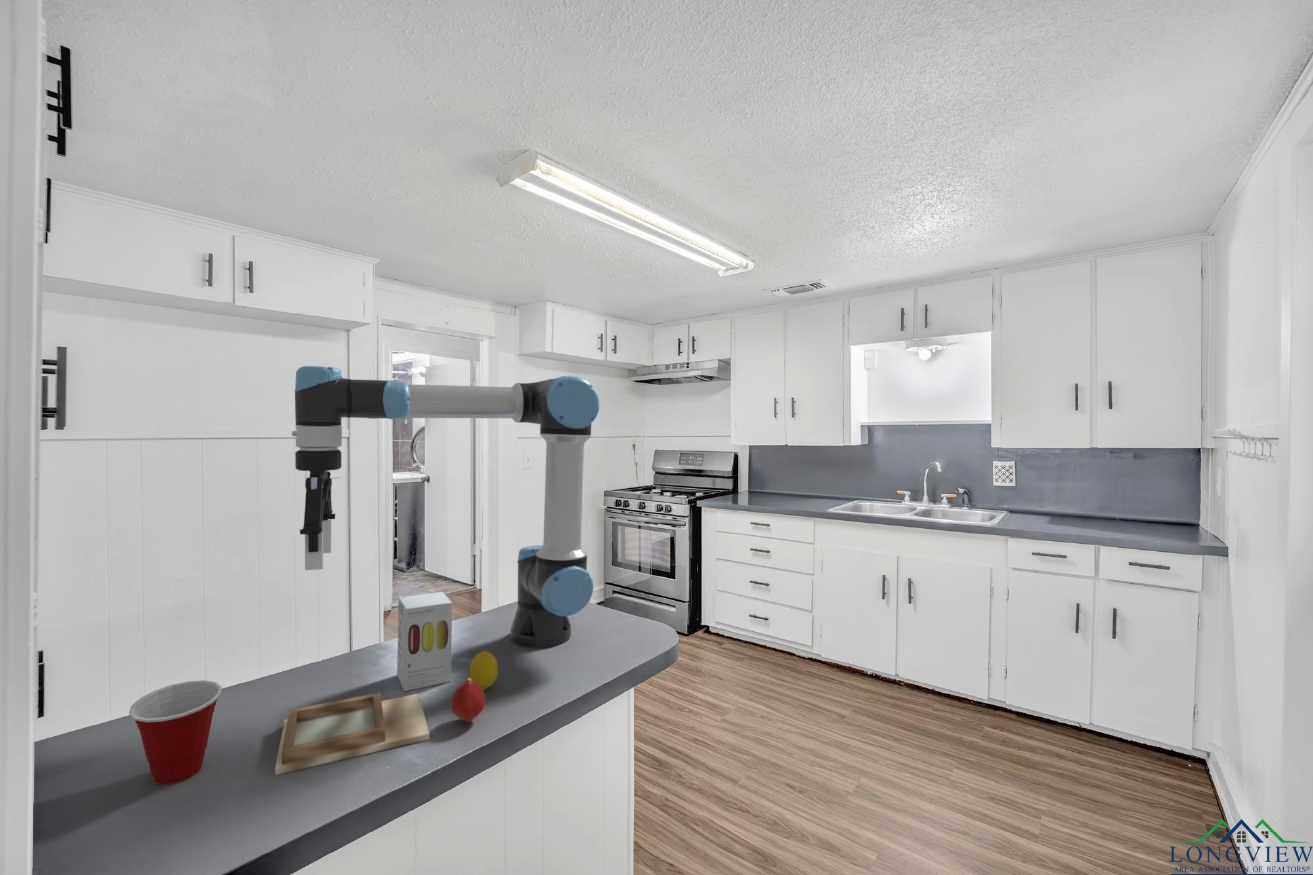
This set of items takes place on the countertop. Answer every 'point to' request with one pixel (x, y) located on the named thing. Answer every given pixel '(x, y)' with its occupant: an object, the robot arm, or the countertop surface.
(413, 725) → the board
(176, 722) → the plastic cup
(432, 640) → the supplement box
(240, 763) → the countertop surface
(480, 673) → the lemon
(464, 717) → the onion
